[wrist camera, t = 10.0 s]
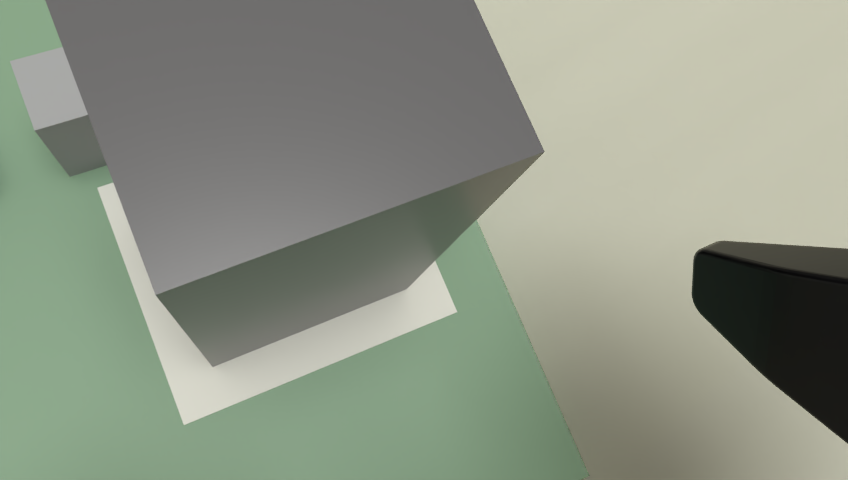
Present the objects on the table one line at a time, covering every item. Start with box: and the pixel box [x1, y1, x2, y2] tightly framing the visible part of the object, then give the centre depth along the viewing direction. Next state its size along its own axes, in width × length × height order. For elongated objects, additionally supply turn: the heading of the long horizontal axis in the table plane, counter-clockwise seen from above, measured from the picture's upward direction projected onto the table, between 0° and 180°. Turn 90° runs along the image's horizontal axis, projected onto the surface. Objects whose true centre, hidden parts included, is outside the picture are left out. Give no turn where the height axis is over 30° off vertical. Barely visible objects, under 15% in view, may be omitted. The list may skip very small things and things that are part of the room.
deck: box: [0, 0, 589, 480], centre depth 18 cm, size 18×14×4 cm
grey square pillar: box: [45, 0, 544, 367], centre depth 14 cm, size 4×5×10 cm
